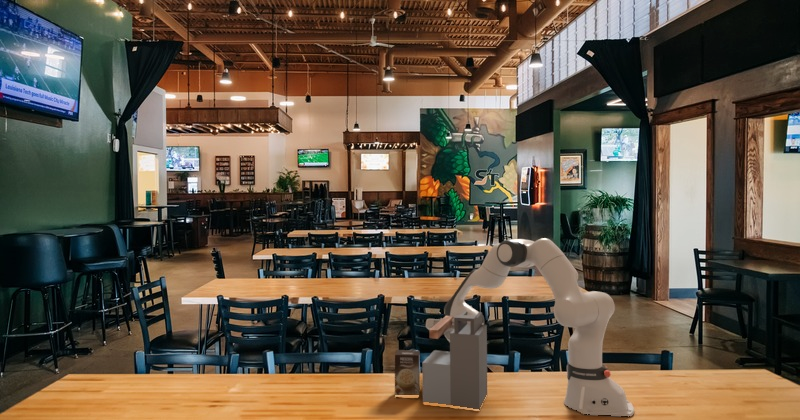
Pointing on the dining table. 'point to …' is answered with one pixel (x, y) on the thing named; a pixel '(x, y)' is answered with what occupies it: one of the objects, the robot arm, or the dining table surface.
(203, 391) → the dining table surface
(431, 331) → the bar
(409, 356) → the coffee box
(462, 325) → the stepped stand
